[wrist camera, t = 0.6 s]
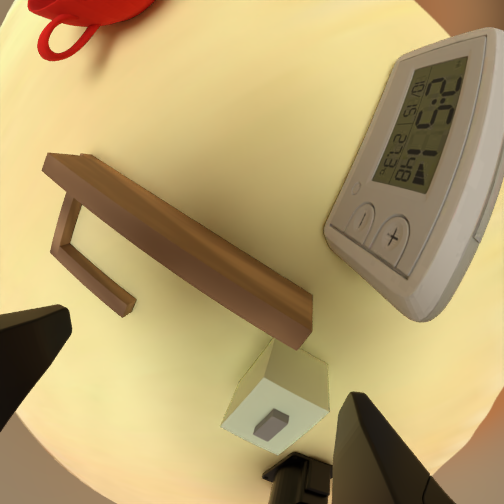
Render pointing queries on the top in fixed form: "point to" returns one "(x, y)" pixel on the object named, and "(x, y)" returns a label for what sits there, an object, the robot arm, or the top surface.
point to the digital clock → (426, 174)
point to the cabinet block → (279, 398)
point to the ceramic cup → (81, 19)
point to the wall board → (171, 250)
